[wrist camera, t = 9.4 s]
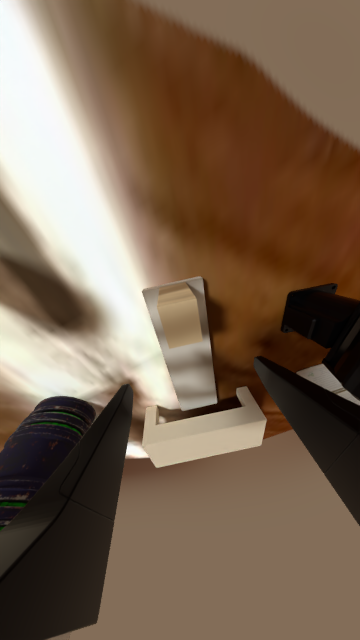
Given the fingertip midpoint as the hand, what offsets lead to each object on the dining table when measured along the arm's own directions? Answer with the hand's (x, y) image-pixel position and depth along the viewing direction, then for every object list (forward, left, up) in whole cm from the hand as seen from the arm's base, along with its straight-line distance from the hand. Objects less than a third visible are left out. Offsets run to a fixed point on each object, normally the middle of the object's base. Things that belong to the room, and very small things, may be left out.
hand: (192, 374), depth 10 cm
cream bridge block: (0, +23, -10) cm, 25 cm away
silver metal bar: (0, +8, -10) cm, 13 cm away
